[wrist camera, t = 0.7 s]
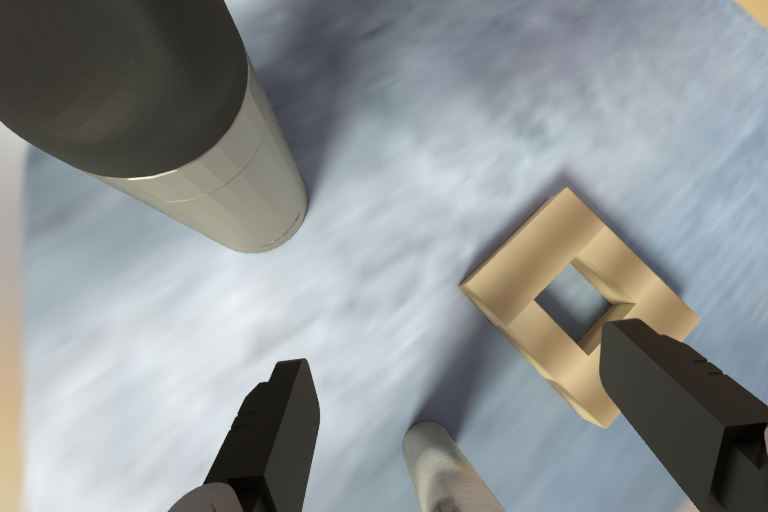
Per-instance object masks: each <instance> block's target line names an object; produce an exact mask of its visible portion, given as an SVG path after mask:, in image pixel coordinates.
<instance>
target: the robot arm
mask: <svg viewBox="0 0 768 512" xmlns="http://www.w3.org/2000/svg"><path fill="white" fill-rule="evenodd" d="M0 121H1V122H2V123H3V124H4V125H5V126H6V127H7V128H9V129H10V130H12V131H13V132H14V133H16V134H17V135H18V136H20V137H21V138H22V139H24V140H26V141H27V142H29V143H31V144H32V145H34V146H36V147H37V148H39V149H41V150H42V151H44V152H46V153H48V154H50V155H52V156H54V157H56V158H58V159H59V160H61V161H63V162H65V163H67V164H69V165H71V166H73V167H75V168H77V169H79V170H81V171H83V172H85V173H87V174H89V175H90V176H92V177H94V178H96V179H98V180H100V181H102V182H104V183H106V184H108V185H109V186H111V187H113V188H115V189H117V190H119V191H121V192H123V193H125V194H127V195H129V196H131V197H133V198H135V199H137V200H139V201H140V202H142V203H144V204H146V205H148V206H150V207H152V208H154V209H156V210H157V211H159V212H161V213H163V214H165V215H167V216H169V217H171V218H173V219H174V220H176V221H178V222H180V223H182V224H184V225H186V226H188V227H190V228H191V229H193V230H195V231H197V232H199V233H201V234H203V235H205V236H206V237H208V238H210V239H212V240H214V241H216V242H218V243H220V244H221V245H223V246H225V247H228V248H230V249H232V250H234V251H239V252H244V253H260V252H265V251H269V250H271V249H274V248H276V247H278V246H280V245H282V244H283V243H285V242H286V241H288V240H289V239H290V238H291V237H292V236H293V235H294V234H295V233H296V232H297V230H298V229H299V227H300V225H301V224H302V222H303V219H304V217H305V214H306V209H307V191H306V188H305V185H304V182H303V179H302V177H301V174H300V172H299V170H298V168H297V165H296V162H295V160H294V158H293V156H292V153H291V151H290V149H289V146H288V144H287V142H286V140H285V137H284V135H283V133H282V130H281V128H280V126H279V124H278V121H277V119H276V117H275V114H274V112H273V110H272V108H271V105H270V103H269V101H268V98H267V96H266V94H265V92H264V89H263V87H262V85H261V83H260V81H259V78H258V76H257V74H256V72H255V69H254V67H253V65H252V63H251V60H250V58H249V56H248V53H247V51H246V49H245V47H244V44H243V41H242V39H241V37H240V34H239V32H238V30H237V28H236V26H235V23H234V21H233V19H232V17H231V15H230V13H229V11H228V8H227V6H226V4H225V2H224V0H0ZM599 375H600V380H601V383H602V386H603V388H604V390H605V392H606V393H607V395H608V396H609V397H610V398H611V400H612V401H613V402H614V404H615V405H616V406H617V407H618V409H619V410H620V411H621V412H622V414H623V415H624V416H625V417H626V419H627V420H628V421H629V423H630V424H631V425H632V426H633V428H634V429H635V430H636V431H637V433H638V434H639V435H640V436H641V438H642V439H643V440H644V441H645V443H646V444H647V445H648V447H649V448H650V449H651V450H652V452H653V453H654V454H655V455H656V457H657V458H658V459H659V460H660V462H661V463H662V464H663V466H664V467H665V468H666V469H667V471H668V472H669V473H670V474H671V476H672V477H673V478H674V479H675V481H676V482H677V483H678V485H679V486H680V487H681V488H682V490H683V491H684V492H685V493H686V495H687V496H688V497H689V498H690V500H691V501H692V502H693V503H694V505H695V506H696V507H697V509H698V510H699V511H700V512H768V406H767V405H766V404H764V403H763V402H762V401H760V400H759V399H758V398H757V397H755V396H754V395H753V394H751V393H750V392H749V391H747V390H746V389H745V388H743V387H742V386H741V385H740V384H738V383H737V382H736V381H734V380H733V379H732V378H730V377H729V376H728V375H724V374H723V373H722V371H721V370H720V369H719V368H717V367H716V366H715V365H713V364H712V363H711V362H707V359H706V358H704V357H703V356H702V355H700V354H699V353H698V352H696V351H695V350H694V349H693V348H691V347H690V346H689V345H687V344H684V343H682V342H680V341H678V340H676V339H673V338H671V337H669V336H667V335H665V334H663V335H659V334H658V333H657V332H656V331H654V330H653V329H652V328H651V327H650V326H648V325H647V324H646V323H645V322H643V321H642V320H641V319H638V318H631V319H623V320H615V321H607V322H605V323H604V324H603V326H602V333H601V347H600V361H599ZM319 424H320V408H319V401H318V398H317V394H316V390H315V386H314V382H313V379H312V375H311V371H310V367H309V364H308V361H307V360H306V359H305V358H303V359H294V360H286V361H279V362H277V363H276V365H275V368H274V370H273V372H272V375H271V377H270V379H269V382H261V383H259V384H258V385H257V386H256V387H255V388H254V389H253V390H252V391H251V392H250V393H249V394H248V395H247V396H246V397H245V399H244V401H243V403H242V405H241V407H240V409H239V411H238V416H237V417H236V418H235V420H234V422H233V424H232V426H231V430H229V432H228V434H227V436H226V438H225V440H224V442H223V444H222V446H221V448H220V450H219V452H218V454H217V457H216V459H215V461H214V463H213V465H212V467H211V469H210V471H209V473H208V475H207V477H206V479H205V481H204V483H203V485H202V486H200V487H197V488H195V489H194V490H192V491H190V492H189V493H187V494H186V495H184V496H183V497H182V498H181V499H179V500H178V501H177V502H176V503H175V504H174V505H173V506H172V507H171V508H170V510H169V511H168V512H302V507H303V502H304V497H305V492H306V487H307V483H308V478H309V473H310V468H311V463H312V459H313V454H314V449H315V444H316V439H317V435H318V430H319Z"/></svg>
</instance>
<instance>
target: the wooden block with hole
mask: <svg viewBox="0 0 768 512" xmlns="http://www.w3.org/2000/svg"><path fill="white" fill-rule="evenodd" d="M569 263H571V264H572V265H573V266H574V267H575V268H576V269H577V270H578V271H579V272H580V273H581V274H582V275H583V276H584V277H585V278H586V279H587V280H588V281H589V282H590V283H591V284H592V285H593V286H594V287H595V288H596V289H597V290H598V291H599V292H600V293H601V294H602V295H603V296H604V297H605V298H606V299H607V300H608V301H609V302H610V303H611V304H612V306H611V307H610V308H609V309H608V310H607V311H606V312H605V313H604V314H603V315H602V317H601V318H600V319H599V320H598V321H597V322H596V323H595V324H594V325H593V326H592V327H591V328H590V329H589V330H588V332H587V333H586V334H585V335H584V336H583V337H582V338H581V339H580V340H579V341H578V342H577V343H575V342H574V341H573V340H572V339H571V338H570V337H569V336H568V335H567V334H566V333H565V332H564V331H563V330H562V329H561V328H560V327H559V325H558V324H557V323H556V322H555V321H554V320H553V319H552V318H551V317H550V316H549V315H548V314H547V313H546V312H545V311H544V310H543V309H542V308H541V307H540V306H539V305H538V304H537V303H536V302H535V301H534V300H533V299H534V298H535V297H536V296H537V295H538V294H539V293H540V292H541V291H542V290H543V289H544V288H545V287H546V286H547V285H548V284H549V283H550V282H551V281H552V280H553V279H554V278H555V277H556V276H557V275H558V274H559V273H560V272H561V271H562V270H563V269H564V268H565V267H566V266H567V265H568V264H569ZM458 287H459V288H460V289H461V291H462V292H463V293H464V294H465V295H466V296H467V297H468V298H469V299H470V300H471V301H472V302H473V303H474V304H475V305H476V306H477V307H478V308H479V309H480V311H481V312H482V313H483V314H484V315H485V316H486V317H487V318H488V319H489V320H490V321H491V322H492V323H493V324H494V325H495V326H496V327H497V328H498V330H499V331H500V332H501V333H502V334H503V335H504V336H505V337H506V338H507V339H508V340H509V341H510V342H511V343H512V344H513V345H514V346H515V347H516V348H517V350H518V351H519V352H520V353H521V354H522V355H523V356H524V357H525V358H526V359H527V360H528V361H529V362H530V363H531V364H532V365H533V366H534V367H535V368H536V370H537V371H538V372H539V373H540V374H541V375H542V376H543V377H544V378H545V379H546V380H547V381H548V382H549V383H550V384H551V385H552V386H553V387H554V389H555V390H556V391H557V392H558V393H559V394H560V395H561V396H562V397H563V398H564V399H565V400H566V401H567V402H568V403H569V404H570V405H571V406H572V407H573V409H574V410H575V411H576V412H577V413H578V414H579V415H580V416H581V417H582V418H583V419H585V420H587V421H590V422H592V423H594V424H596V425H598V426H601V427H603V428H605V429H606V428H607V427H608V426H609V425H610V424H611V422H612V421H613V420H614V419H615V418H616V417H617V416H618V414H619V413H620V412H621V411H620V410H619V409H618V407H617V406H616V405H615V404H614V402H613V401H612V400H611V398H610V397H609V396H608V395H607V393H606V392H605V390H604V388H603V386H602V383H601V380H600V375H599V361H600V347H601V333H602V326H603V324H604V323H605V322H607V321H615V320H623V319H631V318H638V319H641V320H642V321H643V322H645V323H646V324H647V325H648V326H650V327H651V328H652V329H653V330H654V331H656V332H657V333H658V334H659V335H663V334H665V335H667V336H669V337H671V338H673V339H676V340H678V341H680V342H682V341H683V340H684V339H685V337H686V336H687V335H688V334H689V333H690V332H691V331H692V329H693V328H694V327H695V326H696V325H697V324H698V322H699V321H700V320H701V319H700V318H699V317H698V316H697V315H696V314H695V313H694V312H693V311H692V310H691V309H690V308H689V307H688V306H687V305H686V304H685V303H684V302H683V301H682V300H681V299H680V298H679V297H678V296H677V295H676V294H675V293H674V292H673V291H672V290H671V289H670V288H669V287H668V286H667V285H666V284H665V283H664V282H663V281H662V280H661V279H660V278H659V277H658V276H657V275H656V274H655V273H654V272H653V271H652V270H651V269H650V268H649V267H648V266H647V265H646V264H645V263H644V262H643V261H642V260H641V259H640V258H639V257H637V256H636V255H635V254H634V253H633V252H632V251H631V250H630V249H629V248H628V247H627V246H626V245H625V244H624V243H623V242H622V241H621V240H620V239H619V238H618V237H617V236H616V235H615V234H614V233H613V232H612V231H611V230H610V229H609V228H608V227H607V226H606V225H605V224H604V223H603V222H602V221H601V220H600V219H599V218H598V217H597V216H596V215H595V214H594V213H593V212H592V211H591V210H590V209H589V208H588V207H587V206H586V205H585V204H584V203H583V202H582V201H581V200H580V199H579V198H578V197H577V196H576V195H575V194H574V193H573V192H572V191H571V190H570V189H569V188H568V187H566V188H564V189H563V190H561V191H560V192H558V193H557V194H555V195H554V196H552V197H550V198H549V199H548V200H547V201H546V202H545V203H544V204H543V205H542V206H541V207H540V208H539V209H538V210H537V211H536V212H535V213H534V214H533V215H531V216H530V217H529V218H528V219H527V220H526V221H525V222H524V223H523V224H522V225H521V226H520V227H519V228H518V229H517V230H516V231H515V232H514V233H513V234H512V235H511V236H510V237H509V238H508V239H507V240H506V241H505V242H504V243H503V244H502V245H500V246H499V247H498V248H497V249H496V250H495V251H494V252H493V253H492V254H491V255H490V256H489V257H488V258H487V259H486V260H485V261H484V262H483V263H482V264H481V265H480V266H479V267H478V268H477V269H476V270H475V271H474V272H473V273H472V274H471V275H470V276H468V277H467V278H466V279H465V280H464V281H463V282H462V283H461V284H460V285H459V286H458Z"/></svg>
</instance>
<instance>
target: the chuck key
mask: <svg viewBox="0 0 768 512" xmlns="http://www.w3.org/2000/svg"><path fill="white" fill-rule="evenodd" d="M403 454H404V458H405V461H406V464H407V468H408V471H409V475H410V478H411V481H412V485H413V488H414V491H415V495H416V498H417V501H418V505H419V508H420V512H506V511H505V509H504V508H503V507H502V505H501V504H500V503H499V501H498V500H497V499H496V497H495V496H494V494H493V493H492V492H491V490H490V489H489V488H488V486H487V485H486V484H485V482H484V481H483V480H482V478H481V477H480V476H479V474H478V473H477V472H476V470H475V469H474V468H473V466H472V465H471V463H470V462H469V461H468V459H467V458H466V457H465V455H464V454H463V453H462V451H461V450H460V449H459V447H458V446H457V445H456V443H455V442H454V441H453V439H452V438H451V437H450V435H449V434H448V432H447V431H446V430H445V429H444V428H443V427H442V426H441V425H439V424H438V423H435V422H432V421H422V422H419V423H417V424H415V425H413V426H412V427H411V428H410V429H409V430H408V432H407V433H406V435H405V437H404V440H403Z"/></svg>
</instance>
